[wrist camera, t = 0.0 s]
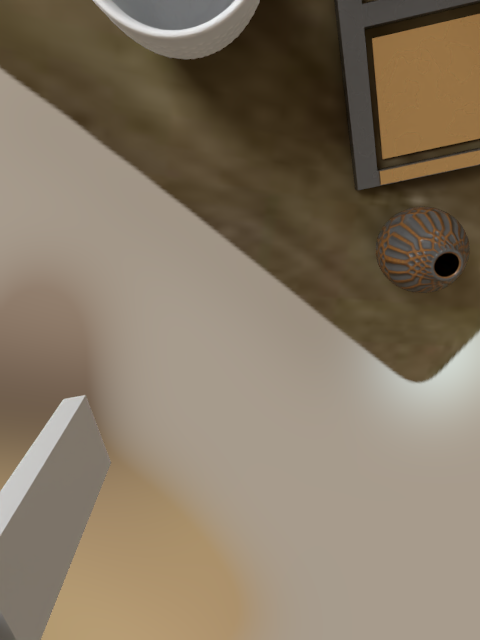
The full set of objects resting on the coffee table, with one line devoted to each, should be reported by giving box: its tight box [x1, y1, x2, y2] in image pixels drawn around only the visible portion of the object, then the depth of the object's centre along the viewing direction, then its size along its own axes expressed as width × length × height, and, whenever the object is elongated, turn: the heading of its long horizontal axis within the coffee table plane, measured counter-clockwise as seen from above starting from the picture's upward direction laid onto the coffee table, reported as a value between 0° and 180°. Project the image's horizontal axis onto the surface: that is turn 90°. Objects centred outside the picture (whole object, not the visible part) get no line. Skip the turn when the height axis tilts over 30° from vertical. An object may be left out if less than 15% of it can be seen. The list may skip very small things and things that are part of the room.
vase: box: [376, 207, 469, 293], centre depth 37 cm, size 7×7×9 cm
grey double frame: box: [334, 0, 480, 190], centre depth 34 cm, size 25×14×1 cm, turn 12°
